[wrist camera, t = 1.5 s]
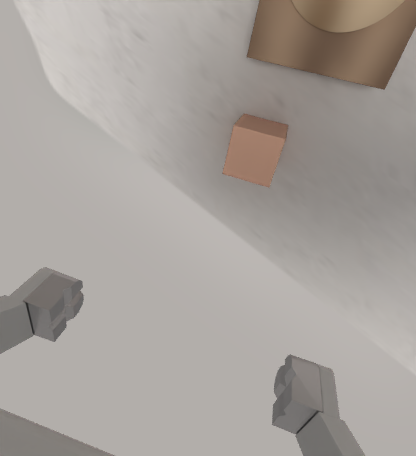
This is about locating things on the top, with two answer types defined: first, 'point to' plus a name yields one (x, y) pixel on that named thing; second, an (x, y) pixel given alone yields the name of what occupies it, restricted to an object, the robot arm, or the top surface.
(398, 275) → the top surface
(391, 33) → the block
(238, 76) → the top surface
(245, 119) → the terracotta block
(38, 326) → the robot arm
